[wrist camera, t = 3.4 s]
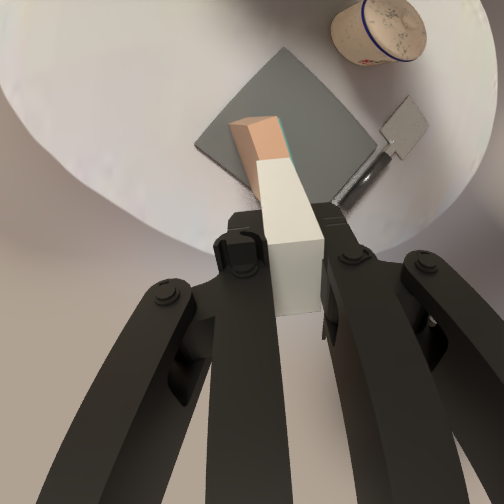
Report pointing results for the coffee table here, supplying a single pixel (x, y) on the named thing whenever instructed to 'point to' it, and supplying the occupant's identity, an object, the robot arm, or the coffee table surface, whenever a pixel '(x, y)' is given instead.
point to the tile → (259, 144)
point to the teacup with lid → (379, 32)
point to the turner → (390, 147)
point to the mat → (295, 127)
